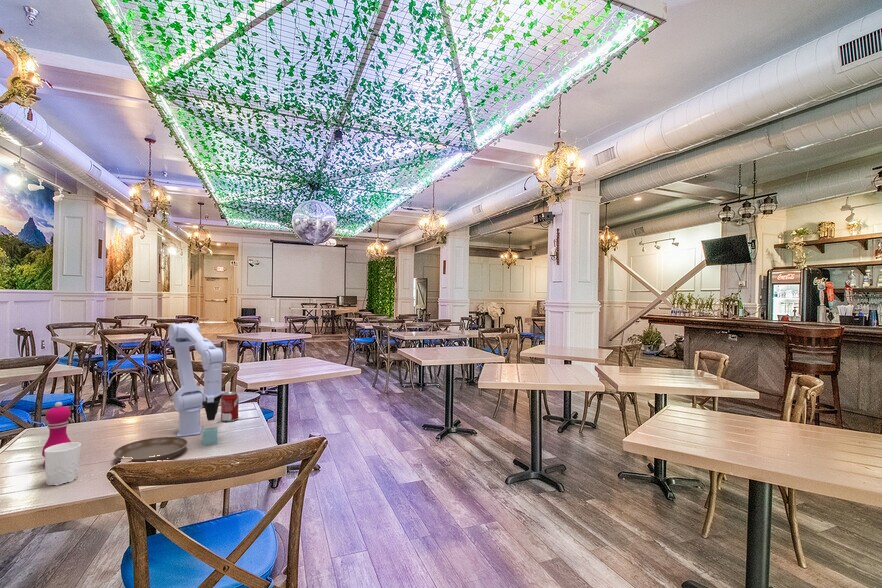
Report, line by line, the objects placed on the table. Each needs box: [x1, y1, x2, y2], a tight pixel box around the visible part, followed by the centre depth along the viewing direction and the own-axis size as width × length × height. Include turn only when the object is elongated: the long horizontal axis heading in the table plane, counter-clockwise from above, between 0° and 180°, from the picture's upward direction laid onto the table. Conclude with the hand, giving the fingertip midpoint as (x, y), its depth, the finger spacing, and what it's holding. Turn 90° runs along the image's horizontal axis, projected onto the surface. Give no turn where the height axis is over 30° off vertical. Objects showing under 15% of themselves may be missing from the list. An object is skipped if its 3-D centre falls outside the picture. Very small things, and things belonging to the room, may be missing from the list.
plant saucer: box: [113, 436, 188, 462], centre depth 140 cm, size 21×21×3 cm
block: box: [202, 426, 218, 446], centre depth 153 cm, size 4×4×5 cm
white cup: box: [44, 441, 82, 486], centre depth 120 cm, size 8×8×10 cm
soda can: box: [220, 391, 240, 423], centre depth 180 cm, size 7×7×12 cm
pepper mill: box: [41, 401, 72, 468], centre depth 132 cm, size 7×7×20 cm
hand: (212, 417), depth 152 cm, fingers open, 7 cm apart
